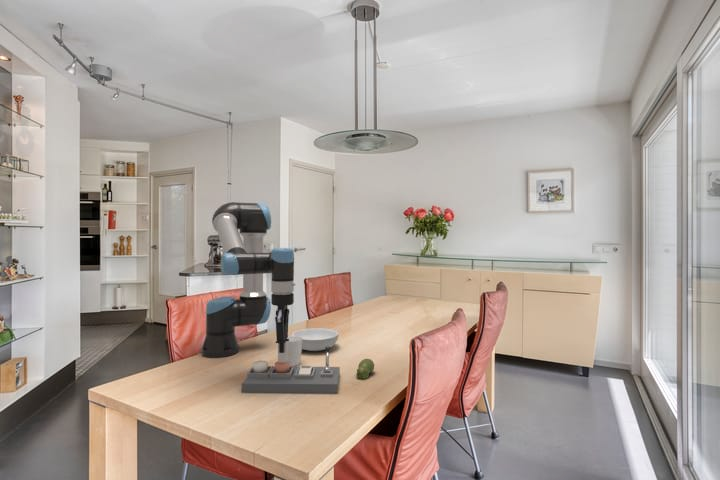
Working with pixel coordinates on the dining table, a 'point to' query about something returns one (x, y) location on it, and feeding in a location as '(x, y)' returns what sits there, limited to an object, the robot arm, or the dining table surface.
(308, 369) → the rocker switch
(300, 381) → the switch panel
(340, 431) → the dining table surface
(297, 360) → the white cup
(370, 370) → the green rounded piece
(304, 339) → the serving bowl
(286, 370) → the terracotta button
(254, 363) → the cream button
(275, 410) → the dining table surface
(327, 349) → the toggle lever
